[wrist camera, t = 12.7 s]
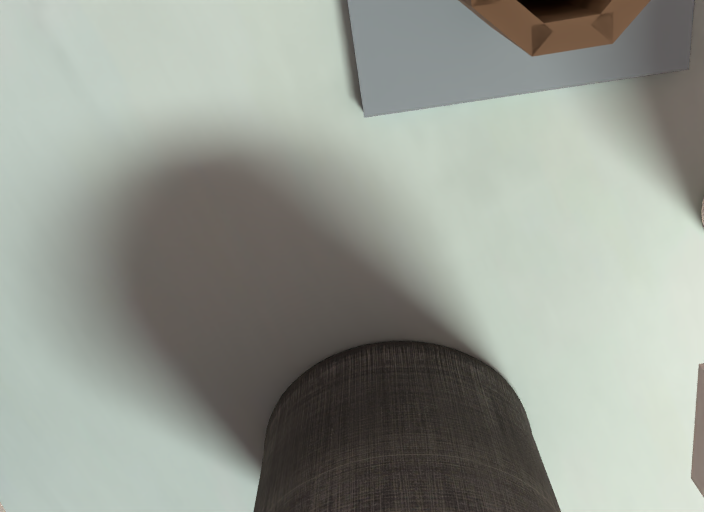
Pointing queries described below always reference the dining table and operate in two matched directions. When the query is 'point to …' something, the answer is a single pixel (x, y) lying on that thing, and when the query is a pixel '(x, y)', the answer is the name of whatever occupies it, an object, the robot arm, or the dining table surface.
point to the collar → (557, 22)
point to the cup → (702, 212)
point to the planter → (401, 437)
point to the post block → (494, 54)
